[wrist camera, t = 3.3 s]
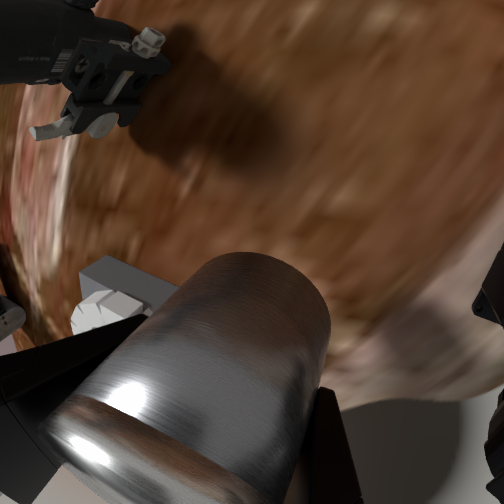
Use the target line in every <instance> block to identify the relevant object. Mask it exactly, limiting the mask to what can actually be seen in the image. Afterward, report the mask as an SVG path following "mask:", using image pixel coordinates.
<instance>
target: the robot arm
mask: <svg viewBox="0 0 504 504" xmlns="http://www.w3.org/2000/svg"><path fill="white" fill-rule="evenodd" d="M478 306H481V307H480V308H479V309H477V307H478ZM472 311H473V313H474V314H475V315H476V316H479V317H482V318H484V319H487V320H490V321H492V322H495V323H498V324H500V325H501V326H502V327H503V329H504V243H503V245H502V247H501V250H500V251H499V252H498V253H497V255H496V258H495V260H494V262H493V264H492V266H491V268H490V270H489V272H488V274H487V276H486V278H485V280H484V282H483V283H482V288H481V290H480V291H479V293H478V295H477V297H476V299H475V300H474V302H473V304H472ZM148 317H149V316H147V315H145V314H138V315H135V316H131V317H128V318H125V319H122V320H119V321H116V322H113V323H110V324H107V325H104V326H101V327H98V328H95V329H91V330H88V331H85V332H82V333H79V334H76V335H73V336H69V337H66V338H63V339H60V340H57V341H53V342H50V343H47V344H44V345H41V346H37V347H34V348H30V349H27V350H23V351H20V352H16V353H12V354H7V355H2V356H0V496H1V495H2V494H5V495H6V496H8V497H9V498H11V499H12V500H14V501H15V502H17V503H19V504H32V502H33V501H34V500H35V499H36V497H37V496H38V495H39V493H40V492H41V491H42V490H43V488H44V487H45V486H46V485H47V483H48V482H49V481H50V479H51V478H52V477H53V476H54V474H55V473H56V472H57V471H58V469H59V468H60V467H61V465H62V464H61V463H60V462H59V461H58V460H57V459H56V457H55V456H54V455H53V454H52V453H51V452H50V451H49V450H48V448H47V447H46V446H45V445H44V443H43V442H42V440H41V439H40V437H39V436H38V434H37V431H36V429H37V428H38V427H39V426H40V425H41V424H42V423H43V422H44V421H45V420H46V419H47V417H48V416H49V415H50V414H51V413H52V412H53V411H54V410H55V409H56V408H57V407H58V406H59V405H60V404H61V403H62V402H63V401H64V400H65V399H66V398H67V397H68V396H69V395H70V394H71V393H72V392H73V391H74V390H75V389H76V388H77V387H78V386H79V385H80V384H81V383H82V382H83V381H84V380H85V379H86V378H87V377H88V376H89V375H90V374H91V373H92V372H93V371H94V370H95V369H96V368H97V367H98V366H99V365H100V364H101V363H102V362H103V361H104V360H105V359H106V358H107V357H108V356H109V355H110V354H111V353H112V352H113V351H114V350H115V349H116V348H117V347H118V346H119V345H120V344H121V343H122V342H123V341H124V340H125V339H126V338H127V337H129V336H130V335H131V334H132V333H133V332H134V331H135V330H136V329H137V328H138V327H139V326H140V325H141V324H142V323H143V322H144V321H145V320H146V319H147V318H148ZM484 450H485V456H486V460H487V463H488V466H489V468H490V471H491V473H492V475H493V476H494V479H493V480H491V481H490V482H489V483H488V484H487V485H486V489H487V490H488V491H489V492H490V493H491V494H492V495H493V496H495V497H496V498H497V499H498V500H499V501H500V503H501V504H504V389H503V390H502V392H501V393H500V394H499V396H498V405H497V409H496V410H495V412H494V414H493V416H492V418H491V421H490V424H489V431H488V440H487V441H486V442H485V444H484ZM361 496H362V493H361V489H360V486H359V482H358V477H357V473H356V469H355V465H354V461H353V458H352V454H351V450H350V446H349V442H348V439H347V435H346V431H345V428H344V424H343V420H342V417H341V413H340V409H339V406H338V402H337V399H336V395H335V392H334V391H333V390H331V389H328V388H325V387H320V388H319V389H318V391H317V395H316V399H315V403H314V406H313V410H312V414H311V417H310V421H309V425H308V428H307V431H306V435H305V438H304V442H303V445H302V448H301V452H300V455H299V458H298V461H297V464H296V467H295V470H294V473H293V476H292V479H291V482H290V485H289V488H288V491H287V494H286V497H285V500H284V502H283V504H364V501H363V498H362V497H361ZM360 497H361V498H360Z"/></svg>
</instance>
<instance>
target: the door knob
mask: <svg viewBox="0 0 504 504" xmlns="http://www.w3.org/2000/svg"><path fill="white" fill-rule="evenodd" d="M330 334H331V320H330V314H329V311H328V308H327V305H326V303H325V301H324V299H323V297H322V296H321V294H320V292H319V291H318V289H317V288H316V287H315V286H314V285H313V283H312V282H311V281H310V280H309V279H308V278H307V277H305V276H304V275H303V274H302V273H301V272H299V271H298V270H297V269H295V268H294V267H292V266H291V265H289V264H287V263H285V262H283V261H281V260H279V259H276V258H274V257H271V256H267V255H264V254H259V253H253V252H234V253H228V254H224V255H220V256H218V257H216V258H213V259H212V260H210V261H208V262H207V263H205V264H204V265H203V266H202V267H201V268H200V269H199V270H198V271H197V272H195V273H194V274H193V275H192V276H191V277H190V278H189V279H188V280H187V281H186V282H185V283H184V284H183V285H182V286H181V287H180V288H178V289H177V290H176V291H175V292H174V293H173V294H172V295H171V296H170V297H169V298H168V299H167V300H166V301H165V302H164V303H163V304H162V305H161V306H160V307H159V308H157V309H156V310H155V311H154V312H153V313H152V314H151V315H150V316H149V317H148V318H147V319H146V320H145V321H144V322H143V323H142V324H141V325H140V326H139V327H138V328H137V329H136V330H135V331H134V332H133V333H132V334H131V335H130V336H129V337H127V338H126V339H125V340H124V341H123V342H122V343H121V344H120V345H119V346H118V347H117V348H116V349H115V350H114V351H113V352H112V353H111V354H110V355H109V356H108V357H107V358H106V359H105V360H104V361H103V362H102V363H101V364H100V365H99V366H98V367H97V368H96V369H95V370H94V371H93V372H92V373H91V374H90V375H89V376H88V377H87V378H86V379H85V380H84V381H83V382H82V383H81V384H80V385H79V386H78V387H77V388H76V389H75V390H74V391H73V392H72V393H71V394H70V395H69V396H68V397H67V398H66V399H65V400H64V401H63V402H62V403H61V404H60V405H59V406H58V407H57V408H56V409H55V410H54V411H53V412H52V413H51V414H50V415H49V416H48V417H47V419H46V420H45V421H44V422H43V423H42V424H41V425H40V426H39V427H38V428H37V429H36V431H37V434H38V436H39V437H40V439H41V440H42V442H43V443H44V445H45V446H46V447H47V448H48V450H49V451H50V452H51V453H52V454H53V455H54V456H55V457H56V459H57V460H58V461H59V462H60V463H61V464H62V465H63V466H64V467H65V468H66V469H67V470H68V471H70V472H71V473H72V474H73V475H74V476H75V477H76V478H77V479H79V480H80V481H81V482H82V483H83V484H84V485H86V486H87V487H88V488H90V489H91V490H92V491H93V492H95V493H96V494H97V495H98V496H100V497H101V498H103V499H104V500H106V501H107V502H108V503H110V504H283V502H284V500H285V497H286V494H287V491H288V488H289V485H290V482H291V479H292V476H293V473H294V470H295V467H296V464H297V461H298V458H299V455H300V452H301V448H302V445H303V442H304V438H305V435H306V431H307V428H308V425H309V421H310V417H311V414H312V410H313V406H314V403H315V399H316V395H317V391H318V387H319V383H320V379H321V375H322V370H323V366H324V362H325V358H326V353H327V349H328V344H329V339H330Z"/></svg>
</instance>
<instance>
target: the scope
mask: <svg viewBox="0 0 504 504" xmlns="http://www.w3.org/2000/svg"><path fill="white" fill-rule="evenodd" d="M98 1H99V0H0V85H1V84H12V83H26V84H28V85H36V84H49V85H55V84H59V83H61V82H62V84H63V85H64V86H65V87H66V88H67V89H68V90H70V91H71V92H72V93H71V94H70V96H69V98H68V100H67V102H66V104H65V106H64V108H63V110H62V112H61V115H60V117H61V118H62V119H60V120H58V121H56V122H54V123H51V124H49V125H45V126H41V127H31V128H30V129H29V130H30V132H31V134H32V136H33V137H34V139H35V141H41V140H46V139H52V138H57V137H59V136H61V137H62V139H65V137H66V136H70V135H74V134H80V133H82V132H85V131H87V132H88V133H89V134H90V135H91V137H92V138H95V139H99V138H102V137H103V136H105V135H107V133H108V132H109V131H110V130H111V129H112V128H113V126H114V125H115V123H116V121H117V117H118V115H117V114H118V113H119V119H118V122H117V123H118V125H119V126H120V127H126V126H128V125H129V124H130V123H131V122H132V120H133V119H134V117H135V116H136V115H137V113H138V112H139V110H140V109H141V107H142V106H143V105H142V104H136V103H135V102H134V101H133V100H132V99H135V98H137V97H138V96H139V94H140V93H141V92H142V90H143V89H144V87H145V86H146V85H147V83H148V82H149V81H150V79H151V78H152V77H153V75H154V74H159V75H165V74H166V73H167V71H168V70H169V69H170V67H171V66H172V63H171V62H170V61H169V60H168V59H167V58H166V57H165V56H164V55H162V54H161V53H160V47H161V45H162V44H163V43H164V42H165V40H166V39H165V36H164V35H163V34H161V33H160V32H159V31H157V30H155V29H153V28H148V27H146V28H145V29H144V30H143V31H142V33H141V34H140V35H138V36H136V37H135V38H134V40H133V41H132V40H131V35H130V30H129V29H128V27H127V25H125V24H124V23H122V22H118V21H114V20H109V19H105V18H100V17H95V16H94V13H93V11H92V10H91V8H93V7H95V6H96V5H95V4H96V3H97V2H98ZM141 76H143V77H142V78H141V80H140V81H139V82H138V83H136V84H134V85H133V83H134V81H135V80H137V79H138V78H139V77H141Z"/></svg>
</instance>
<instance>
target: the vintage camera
mask: <svg viewBox="0 0 504 504" xmlns="http://www.w3.org/2000/svg"><path fill="white" fill-rule="evenodd" d="M25 320H26V313H25V311H24V310H23V309H22V308H21V307H20V306H18V305H17V304H15V303H14V302H12V301H10V300H9V299H7V298H6V297H4V296H2V295H1V294H0V342H1V341H2V340H3V339H5V338H6V337H7V336H9V335H10V334H12V333H13V332H15V331H16V330H17V329H19V328H20V327H21V326H22V325H23V324H24V322H25Z"/></svg>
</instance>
